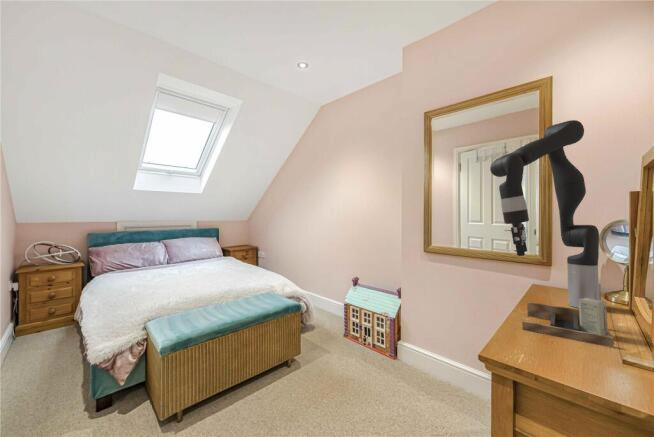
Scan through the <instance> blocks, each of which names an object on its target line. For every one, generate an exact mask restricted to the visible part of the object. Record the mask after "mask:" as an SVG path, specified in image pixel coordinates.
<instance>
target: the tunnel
mask: <svg viewBox="0 0 654 437" xmlns="http://www.w3.org/2000/svg"><path fill="white" fill-rule="evenodd" d="M526 306H527V317H530V316H532V318H535V319H542V320H548V321H550V323H549V324H541V323H537V322H531V321H525V320H522V322H521V323H522V326H521V327H522V328H521V329H522V330H523V329H524V330H525V331H529V332H535V333H539V334H545V335H549V336H553V337H559V338H563V339H569V340H573V341H574V340H575V341H578V342H584V343H589V344H594V345H600V346H604V347H609V348H614V340H615V339H614V337H613V336H610V333H609V332H608V335H604V336H603V335H598V334H592V333H587V332H582V331H580V314H579V308H575V307H572V308H571V307H564V306H558V305H552V304H545V303H537V302H532V301H531V302H530V301H527V305H526Z"/></svg>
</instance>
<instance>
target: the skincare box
mask: <svg viewBox="0 0 654 437" xmlns="http://www.w3.org/2000/svg"><path fill="white" fill-rule="evenodd" d="M578 309H579V314H580V327H579V331H582V332H587V333H592V334H598V335H603V336H604V335H608V333H609V330H608V329H609V328H608V312H607V309H608V308H607V301H606V300H602V299H601V300H596V299H590V298H582V299H579V308H578Z"/></svg>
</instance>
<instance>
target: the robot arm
mask: <svg viewBox="0 0 654 437" xmlns="http://www.w3.org/2000/svg"><path fill="white" fill-rule="evenodd" d="M584 134H585V127H584V125H583V124H582V122H581V121H579V120H575V119H571V120H567V121H562V122H560V123H556V124H552V125H549V126H547V127H546V128H545V130H544V132H543V137H542V138H539V139H536V140H534V141H530V142H529V143H526V144H524V145H523V146H520V147H518V148H517V149H515V150H514V151H512V152H510V153H507V154H505V155H503V156H500V157H498V158H496V159H495V160H493V162H492V163H491V165H490V169H489V170H490V173H491V174H492V175H493V176H495V177H497V178H501V177H502V178H503V177H506V178H505V181H504V182H502V183H501V184H500V185H499V186H498V189H499V190H498V191H499V196H500V205H501V206H500V207H501V211H502V217H503V222H504V224H505V225H510V224H511V225H512V227H510V232H511V238H512V242H513V245H514V246H515V251H516V255H517V256H518V257H523V256H524V257H525V255H526V252H528V248H527V233H526V227H525V224H524V223H526V222H529V221H530V218H529V211H528V208H527V202H526V199H525V196H524V195H525V194H524V190H523V178H524V177H523V176H524V169H525V168H524V167H525V166H528V165H531V164H532V163H533V162H534V163H535V161H537V160H539V159H541V158H543V157H545V156H546V155H547V156H548V160H549V164H550V167H551V173H552V177H553V184H554V192H555V197H556V201H557V207H558V212H559V213H558V214H559V226H560V237H561V241H562V243H563V245H564V246H566V247H571V248H583V251H582V252H579V253H578V254H573V255H569V256H567V258H566V261H567V262H566V264H567V298H568V299H567V300H568V304H567V305H569V306H571V307H572V308H575V309H579V299H582V298H590V299H596V300H601V301H602V285H601V283H599V282H600V281H599V256H600V255H599V254H600V252H599V249H600V248H599V247H600V233H599V229H598V227H597V226H595V225H593V224H574V223H575V222H574V216H575V213H576V211H577V208H579V205H580V204H581V203H582V201H583V199H584V198H585V196H586V193H587V189H586V182H585V177H584V175H583V173H582V172H581V171H580V170H579V169H578V167H576V166H575V165H574V164H573V163H572V162H571V161H570V160H569V159H568V157H567V155H566V153H565V150H564V149H565V148H564V147H566V146H571V145H574V144H576V143H578V142H579V141H581V140H582V139H583V136H584Z"/></svg>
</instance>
